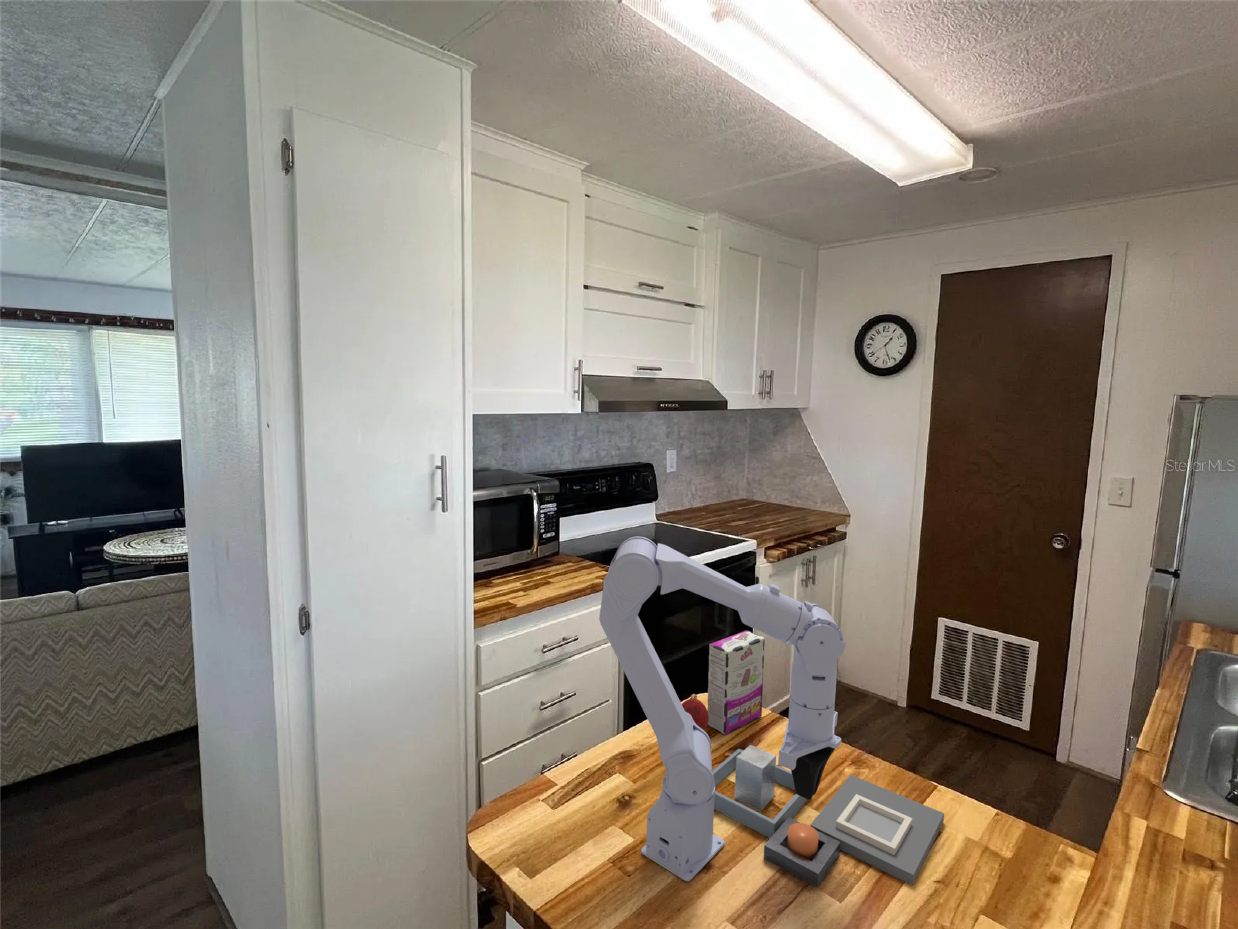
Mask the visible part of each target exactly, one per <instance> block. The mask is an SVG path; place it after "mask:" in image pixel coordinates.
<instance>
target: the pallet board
mask: <svg viewBox="0 0 1238 929" xmlns="http://www.w3.org/2000/svg"><path fill="white" fill-rule="evenodd" d="M944 820H945V813H944V812H942V811H940V810H937V809H935V808H933V807H930V806H927V805H925V804H922V803H920V802H918V801H916V800H913V799H910V798H908V797H906V796H904V795H901V794H898V793H897V792H894V791H892V790H889V789H886V788H884V787H881V786H880V785H877V784H874V783H873V782H870V781H868V780H866V779H862V778H860V777H858V776H856V775H852V774H850V775H849V776H848V777H847V778H846V780H845V781H844V782H843V784H842V785H841V786H840V787H839V789H837V791H836V792H835V794H834V795H833V796H832V797H831V798H830V800H829V801H828V802H827V803H826V805H825V806H824V807H823V808H822V810H821V811H820V812H819V814H818V815H817V816H816V817H815V819H814V820H813V821H812V822H811V823H810V825H809V826H811V827H813V828H814V829H815V830H816V831H818V832H821V833H823V834H825V835H827V836H829V837H831V838H833V839H835V840H837V841H839V842H840V851H843V852H844V853H846V854H848V855H851V856H852V857H854V858H856V859H859V860H860V861H862V862H865V863H866V864H868V865H870V866H873V867H875V868H877V869H878V870H881V871H882V872H885V873H886V874H888V875H891V876H892V877H895V878H897V879H898V880H900V881H902V882H905V883H907V884H909V885H911V886H913V885H914V884H915V882H916V880H917V877H918V875H919V873H920V871H921V869H922V867H923V865H924V862H925V861H926V859H927V857H928V855H929V853H930V851H931V848H932V846H933V845H934V843H935V841H936V839H937V836H938V834H939V832H940V830H941V829H942V827H943V824H944Z"/></svg>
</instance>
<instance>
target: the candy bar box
mask: <svg viewBox="0 0 1238 929" xmlns="http://www.w3.org/2000/svg"><path fill="white" fill-rule="evenodd" d="M765 640H766V639H765V637H764V636H762V635H758V633H757V634H756V633H754V632H752V631H749V630H744V631H741V632H739V633H737V634H734V635H730V636H728V637H725V638H722V639H720V640H717V641H714V642H712V643H709V644H708V675H707V676H708V677H707V678H708V681H707V682H708V683H707V685H708V686H707V707H706V709H707V711H708V715H709V721H708V725H707V726H709V727H710V728H712V729H713V730H715V731H717V732H718V733H720V734H723V735H724V736H725V735H728V734H730V733H733V732H735V731H736V730H739V729H740V728H742V727H744V726H745V725H748V724H749V723H751V722H754V721H756V720H758V719H759V718H761V717H762V715H763V692H764V690H763V689H764V688H763V687H764V666H765V665H764V664H765V663H764V662H765Z"/></svg>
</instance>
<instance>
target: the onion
mask: <svg viewBox="0 0 1238 929" xmlns="http://www.w3.org/2000/svg"><path fill="white" fill-rule="evenodd" d="M681 704H682V706H683V708H684V710H685V712H687V713H689V714H690V715H691V716H692V718H693V720H694V722H695V723H696V725H697V726H698V727H700V728H701V729H703V730H704V731H705V730H706V728H707V726H708V721H709V715H708V711H707V707H706V705H705V704H704V703H703V702H702V701H701V700H699V699H698V695H696V694H695V693H693V694H691V695H690V698H689V699H687V700H684V701H683V702H681Z"/></svg>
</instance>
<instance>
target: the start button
mask: <svg viewBox="0 0 1238 929" xmlns="http://www.w3.org/2000/svg"><path fill="white" fill-rule="evenodd" d="M818 837H819V836H818V833H817V831H816V830H815V829H814V828H813V827H811V826H810V825H809V824H807V823H804V822H800V823H794V824H792V825H790V826H789V828H788V840H787V849H789V850H791V851H793V852H795V853H797V854H798V855H800V856H802V857H804V858H806V859H808V860H810V861H812V860H813V859H814V858H815V856H816V855H817V854H818Z"/></svg>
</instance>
